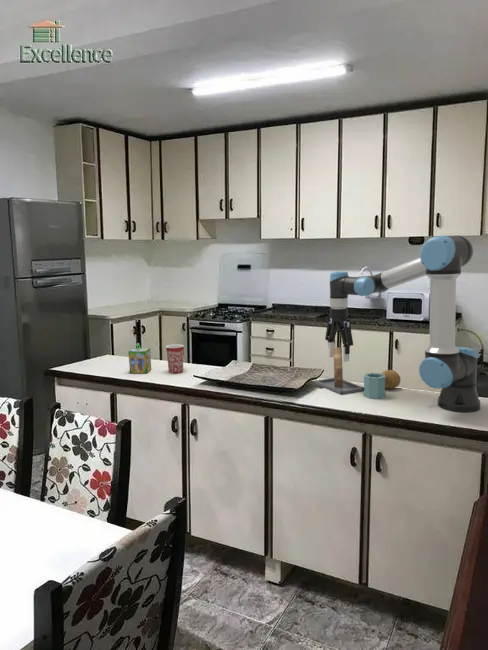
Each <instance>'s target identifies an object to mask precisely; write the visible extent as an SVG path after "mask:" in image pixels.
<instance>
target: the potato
mask: <svg viewBox="0 0 488 650" xmlns="http://www.w3.org/2000/svg"><path fill="white" fill-rule="evenodd" d="M380 374H383V375H385V390H394V389H396V388H397V387H399V386H400V384H401V376H400V374H398V372H397V371H396V370H394V369H386V370H385V371H383V372H381V373H380Z"/></svg>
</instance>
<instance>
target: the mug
mask: <svg viewBox="0 0 488 650" xmlns="http://www.w3.org/2000/svg"><path fill="white" fill-rule="evenodd" d="M184 347H185V346H184V344H175V343H174V344H168V345H166V346H165V349H166V359H167V365H168V366H167V367H168V373H169V374H181V373H183V372H184V355H185V348H184Z"/></svg>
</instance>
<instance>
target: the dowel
mask: <svg viewBox="0 0 488 650" xmlns="http://www.w3.org/2000/svg"><path fill="white" fill-rule="evenodd" d="M333 353H334V357H333V378H334V386H335V387H337V388H340V387H343V380H344V379H343V377H344V376H343V347H336V346H335V348H333Z"/></svg>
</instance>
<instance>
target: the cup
mask: <svg viewBox="0 0 488 650" xmlns="http://www.w3.org/2000/svg"><path fill="white" fill-rule="evenodd" d="M363 387H364V391H363V397H365V398H367V399H372V400H379V399H383V398H385V397H386V389H385V375H383V374H381V373H378V372H370V373H365V374H364V375H363Z"/></svg>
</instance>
